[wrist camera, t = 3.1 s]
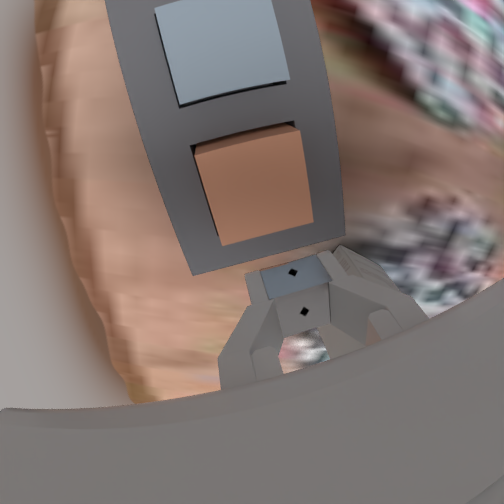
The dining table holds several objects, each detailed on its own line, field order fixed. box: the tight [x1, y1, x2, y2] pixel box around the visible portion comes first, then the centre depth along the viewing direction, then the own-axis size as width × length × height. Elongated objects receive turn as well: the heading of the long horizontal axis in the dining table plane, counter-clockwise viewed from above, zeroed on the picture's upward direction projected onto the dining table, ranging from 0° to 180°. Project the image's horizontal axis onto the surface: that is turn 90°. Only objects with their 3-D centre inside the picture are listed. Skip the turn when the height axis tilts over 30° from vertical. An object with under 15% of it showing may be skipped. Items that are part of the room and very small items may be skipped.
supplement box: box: [317, 245, 400, 359], centre depth 27 cm, size 7×7×13 cm
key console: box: [105, 0, 345, 276], centre depth 16 cm, size 12×30×6 cm, turn 12°
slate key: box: [154, 0, 290, 104], centre depth 14 cm, size 6×6×4 cm
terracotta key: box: [195, 122, 314, 246], centre depth 19 cm, size 6×6×4 cm
